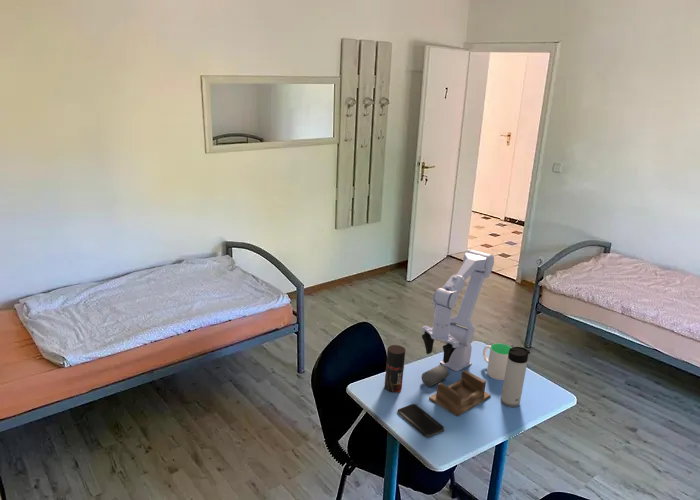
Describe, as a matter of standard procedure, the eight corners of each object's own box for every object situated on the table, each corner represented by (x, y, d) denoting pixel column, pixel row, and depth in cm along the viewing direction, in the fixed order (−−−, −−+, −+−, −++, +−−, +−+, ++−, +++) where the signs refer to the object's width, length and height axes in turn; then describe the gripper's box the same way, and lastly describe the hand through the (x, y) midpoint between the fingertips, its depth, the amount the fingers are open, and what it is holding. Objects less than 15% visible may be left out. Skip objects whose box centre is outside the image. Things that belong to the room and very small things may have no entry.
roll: (437, 374, 201) (438, 362, 199) (448, 380, 197) (449, 368, 196) (420, 382, 195) (422, 370, 193) (431, 389, 192) (433, 376, 190)
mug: (474, 366, 207) (477, 342, 203) (488, 361, 211) (492, 336, 208) (499, 382, 198) (503, 356, 194) (513, 376, 202) (518, 350, 199)
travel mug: (521, 409, 183) (531, 355, 176) (501, 405, 184) (509, 352, 178) (519, 398, 189) (529, 346, 182) (500, 395, 190) (508, 343, 183)
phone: (426, 436, 166) (396, 409, 178) (426, 439, 166) (395, 412, 178) (446, 428, 170) (415, 402, 182) (445, 431, 170) (414, 405, 182)
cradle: (462, 381, 197) (464, 366, 195) (490, 396, 189) (492, 381, 187) (429, 399, 186) (430, 383, 184) (457, 416, 177) (459, 400, 175)
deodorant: (395, 394, 187) (399, 355, 182) (381, 388, 190) (384, 349, 185) (404, 387, 191) (408, 349, 186) (390, 381, 195) (393, 343, 190)
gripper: (418, 317, 191) (414, 352, 195) (451, 333, 181) (446, 370, 185) (431, 312, 196) (427, 346, 200) (464, 328, 186) (459, 363, 190)
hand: (437, 357), depth 193 cm, fingers open, 7 cm apart
